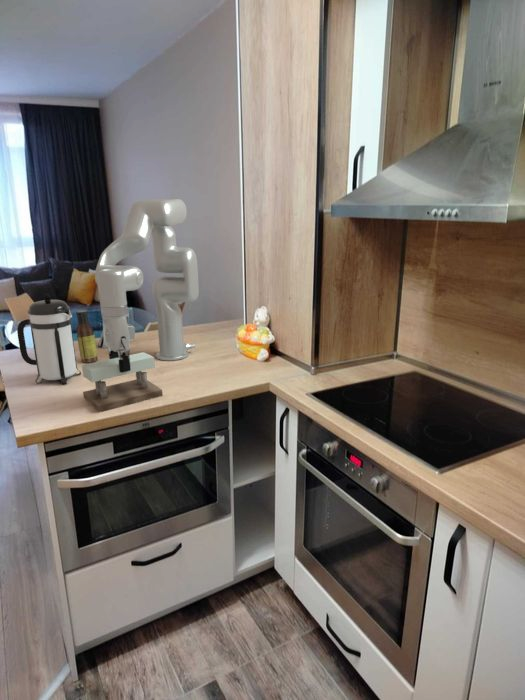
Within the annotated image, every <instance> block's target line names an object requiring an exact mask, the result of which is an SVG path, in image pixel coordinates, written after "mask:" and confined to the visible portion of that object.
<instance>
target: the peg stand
mask: <svg viewBox="0 0 525 700" xmlns="http://www.w3.org/2000/svg"><path fill="white" fill-rule="evenodd" d="M147 373H148V372H146V371H138V372H135V379H133V380H128V381H125V382H124V381H123V382H119V383H115V384H111V385H107V382H106V381H105V380H100V381H96V382H94V383H95V388H94V389H90V390H86V391H85V390H84V391H83V392H82V395H83V399H84V400H85V401H87V402H88V404H90V406H92V408H94V409H95V410H96V411H97V412H98V413H103V412H105V411H110V410H114V409H117V408H121V407H125V405H126V406H128V405H132V404H136V402H137V403H141V402H144V400H145V401H147V400H151V398H152V399H155V398H159V396H160V397H163V389H162V388H161V387H159V386H157V385H155V384H154V383H153V382H151V381H149V380H148V375H147ZM140 401H141V402H140Z"/></svg>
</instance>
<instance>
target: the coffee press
mask: <svg viewBox="0 0 525 700" xmlns="http://www.w3.org/2000/svg"><path fill="white" fill-rule="evenodd" d="M42 297H43V300H38V301H35V302H33V303H32V304H30V305H29V307H28V310H27V314H28V315H29V316H28V317H29V318H28V319H24V320H23V319H22V321H20V322H19V323H18V325H17V329H16V330H17V331H16V332H17V333H16V334H17V339H18V346H19V350H20V351H19V352H20V355H21V357H22V359H23V361H24V362H25V363H26V364H29V365H31V366H36V368H37V370H36V371H37V377H36V378H35V379H34V381H35V383H36V384H38V385H40V384H41V383H42V382H43V381H44V380H47V381H58V380H60V382H61V385H62V386H64V385H67V384H68V383H67V379H68V378H70V377H72V376H74V375H76V376H80V375H82V371H79V368H78V365H77V360H76V358H77V357H76V349H75V345H74V344H75V343H74V337H73V336H74V335H73V329H72V327H73V326H72V318H73V314H72V313H71V310H70V308H71V307H70V306H69V305H68V304H67V303H66V302H65V300H61V299H51V297H52V296H51V294H50V293H47V292H46V293H44V294H43V296H42ZM27 325H30V333H31V338H32V344H33V351H34V357H35V359H33V358H31V357H30V356H29V354H28V350H27V345H26V339H25V332H24V331H25V330H24V329H25V327H26V326H27ZM77 370H78V371H79V373H77ZM39 377H40V378H41V379H40V380H39ZM38 380H39V381H38ZM37 381H38V382H37ZM39 383H40V384H39Z"/></svg>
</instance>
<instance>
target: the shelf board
mask: <svg viewBox="0 0 525 700" xmlns="http://www.w3.org/2000/svg"><path fill="white" fill-rule="evenodd" d="M129 356H130V368H131V370H130V371H127V372H122V373H121V372H120V369H119V360H120V358H114V359H109V358H108V359H105V360H99V361H95V362H91V363H85V364H82V365H81V367H82V368H81V369H82V376H83V377H84V378H85V379H86V380H88V381H89V382H90V383H95V382H96V381H100V380H101V381H105V380H108V379H113V378H116V377H121V376H124V375H129V374H133V373H136V372H138V371H142V372H144V371H146V370H150V369H154V368H155V367H156V366H155V365H156V364H155V356H152V355H150V354H149V353H146V352H144V351H143V352H138V353H134V354H130V355H129Z"/></svg>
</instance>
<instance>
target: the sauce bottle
mask: <svg viewBox="0 0 525 700" xmlns="http://www.w3.org/2000/svg"><path fill="white" fill-rule="evenodd" d="M75 312H76V313H75V314H76V316H77V326H76V329H75V330H76V331H75V332H76V337H77V344H78V350H79V355H80V356H79V357H80V359H81V363H85V364H90V363H94V362H98V359H99V358H98V348H97V343H96V338H95V331H94V330H93V327H92V325H91V323H90V321H89V320H90V319H89V311H88V310H87V309H82V310H76V311H75Z"/></svg>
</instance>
